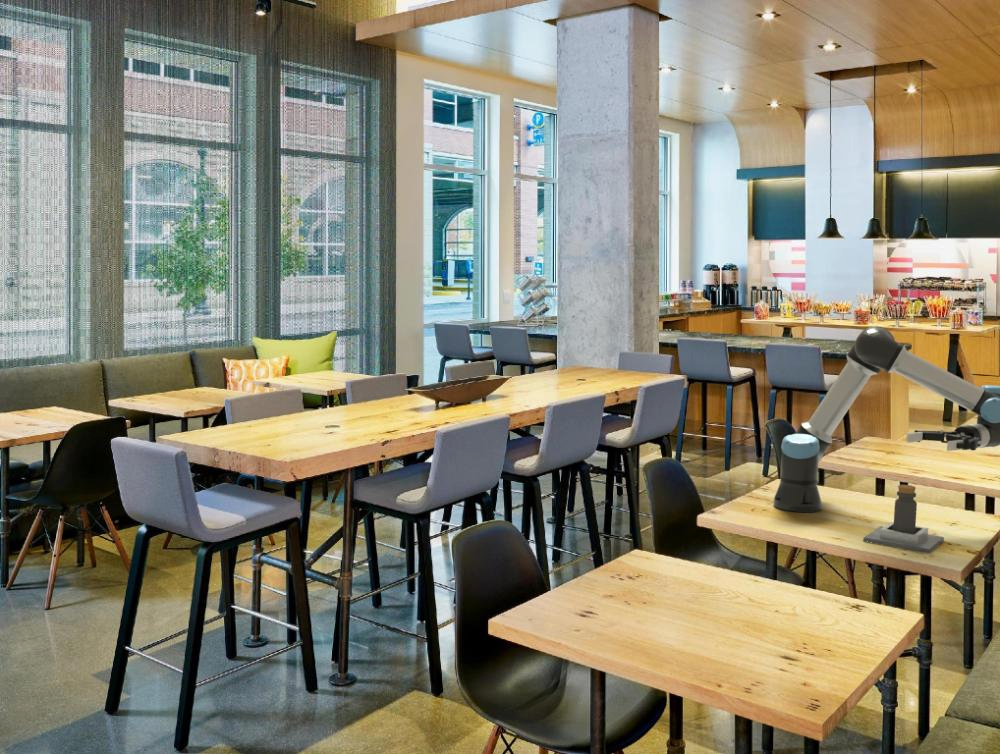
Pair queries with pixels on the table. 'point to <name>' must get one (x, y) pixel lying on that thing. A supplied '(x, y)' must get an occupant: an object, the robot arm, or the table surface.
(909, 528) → the bottle
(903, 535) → the collar plate
